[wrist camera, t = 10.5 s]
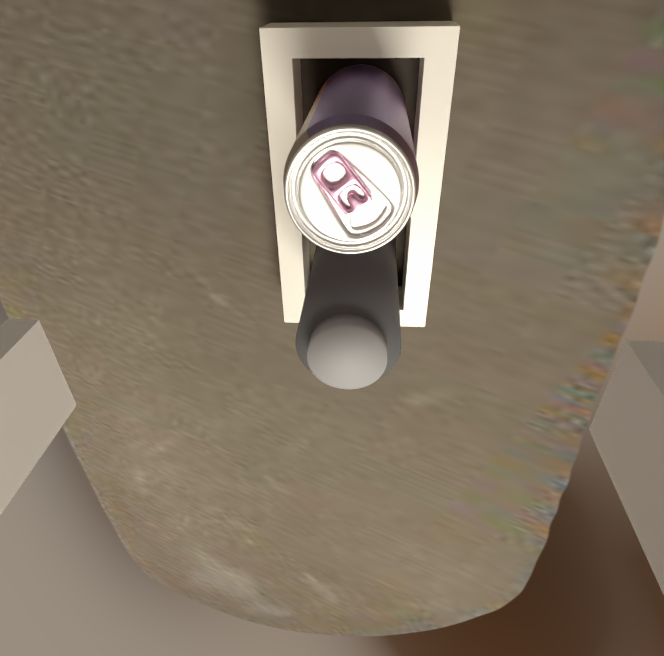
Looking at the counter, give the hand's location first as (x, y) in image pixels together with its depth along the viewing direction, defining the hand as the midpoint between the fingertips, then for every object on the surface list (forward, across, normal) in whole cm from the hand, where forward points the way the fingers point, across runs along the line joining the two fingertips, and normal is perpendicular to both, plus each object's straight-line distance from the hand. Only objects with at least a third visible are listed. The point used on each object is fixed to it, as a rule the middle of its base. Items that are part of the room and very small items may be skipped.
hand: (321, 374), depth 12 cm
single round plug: (+26, 0, -10) cm, 28 cm away
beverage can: (+27, 0, 0) cm, 27 cm away
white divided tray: (+26, 0, -5) cm, 27 cm away
